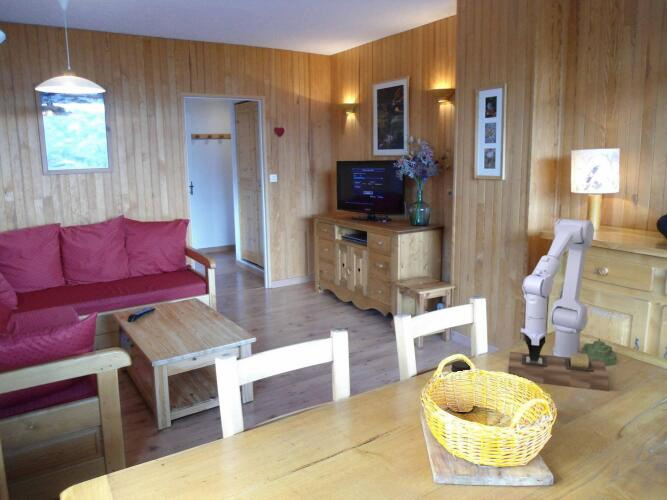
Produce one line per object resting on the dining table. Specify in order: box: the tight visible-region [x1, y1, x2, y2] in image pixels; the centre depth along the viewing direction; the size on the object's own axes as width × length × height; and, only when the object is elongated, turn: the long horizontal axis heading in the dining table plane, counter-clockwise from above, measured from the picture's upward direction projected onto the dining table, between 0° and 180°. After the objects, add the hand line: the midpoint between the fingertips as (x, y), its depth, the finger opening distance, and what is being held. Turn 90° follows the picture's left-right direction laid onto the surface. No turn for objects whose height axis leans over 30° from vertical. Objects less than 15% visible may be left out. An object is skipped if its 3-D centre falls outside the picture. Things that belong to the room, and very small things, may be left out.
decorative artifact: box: [580, 338, 617, 367], centre depth 164 cm, size 10×7×10 cm
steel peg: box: [526, 356, 542, 364], centre depth 155 cm, size 4×4×4 cm
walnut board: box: [507, 351, 610, 392], centre depth 153 cm, size 12×26×4 cm, turn 70°
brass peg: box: [569, 352, 589, 369], centre depth 150 cm, size 4×4×4 cm
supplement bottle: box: [450, 360, 472, 372], centre depth 136 cm, size 7×7×12 cm
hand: (534, 360), depth 155 cm, fingers closed, pressing on steel peg
